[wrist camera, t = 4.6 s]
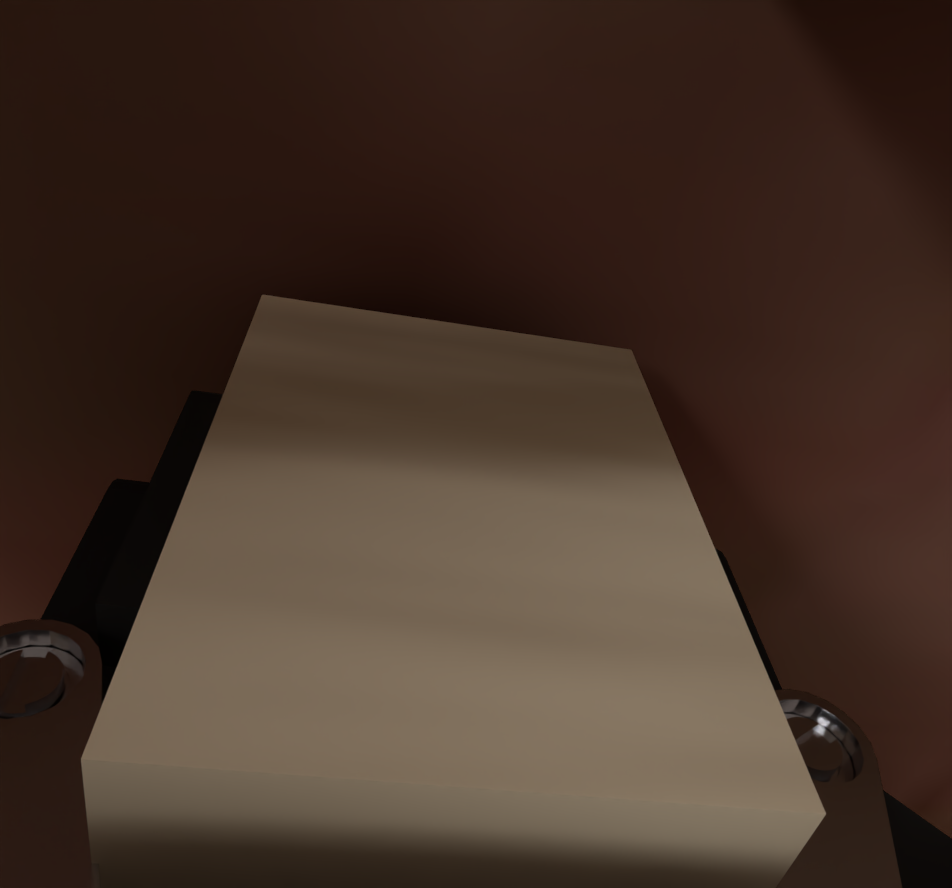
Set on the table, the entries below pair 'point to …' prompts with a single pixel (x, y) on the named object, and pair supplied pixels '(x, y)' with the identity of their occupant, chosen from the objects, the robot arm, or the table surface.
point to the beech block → (439, 636)
